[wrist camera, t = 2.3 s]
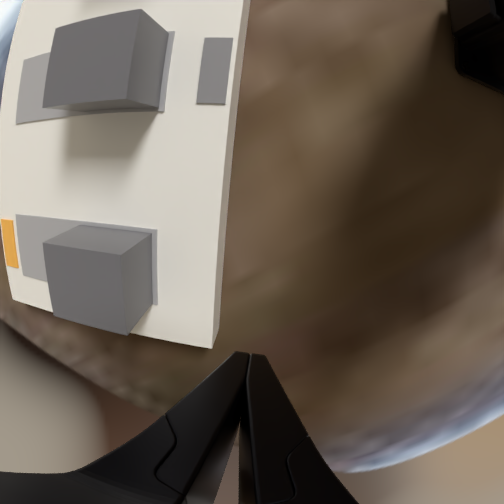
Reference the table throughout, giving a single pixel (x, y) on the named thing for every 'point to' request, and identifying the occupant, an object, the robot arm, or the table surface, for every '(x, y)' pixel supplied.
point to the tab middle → (106, 63)
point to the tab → (100, 276)
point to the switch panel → (128, 159)
